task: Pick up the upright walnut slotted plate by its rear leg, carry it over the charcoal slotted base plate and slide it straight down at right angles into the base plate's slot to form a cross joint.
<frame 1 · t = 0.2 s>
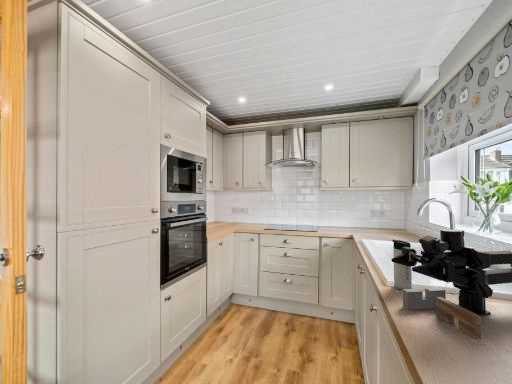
hand: (401, 264, 76), 17 cm above the countertop, tool horizontal, fingers open, 9 cm apart
cross plate: (456, 326, 69), on the countertop
base plate: (424, 306, 81), on the countertop
travel mug: (402, 288, 97), on the countertop
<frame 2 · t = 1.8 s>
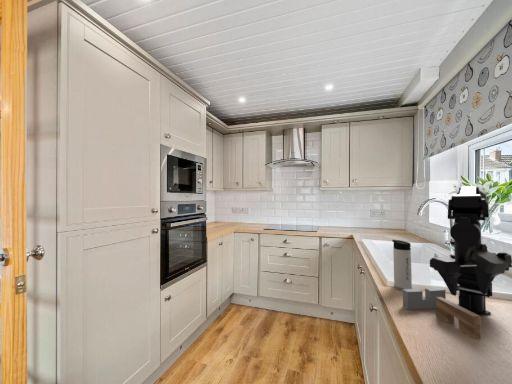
hand: (468, 294, 65), 11 cm above the countertop, tool pointing down, fingers open, 9 cm apart
nothing on the countertop moved.
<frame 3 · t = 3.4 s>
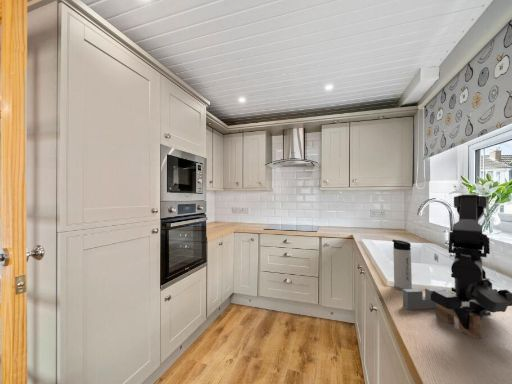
hand: (469, 328, 65), 2 cm above the countertop, tool pointing down, fingers closed on cross plate, 2 cm apart
cross plate: (456, 326, 69), on the countertop, touching gripper
everything else where it was.
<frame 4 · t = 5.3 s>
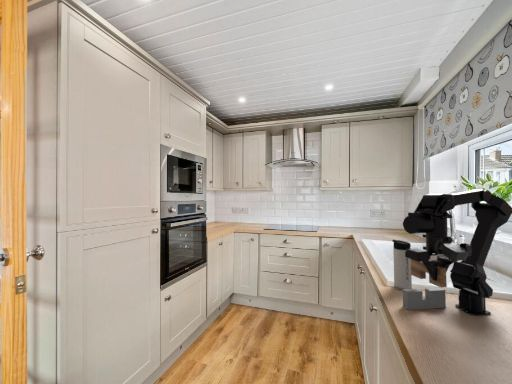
hand: (437, 280, 75), 11 cm above the countertop, tool pointing down, fingers closed on cross plate
cross plate: (427, 280, 79), point 10 cm above the countertop, touching gripper
everything else where it was.
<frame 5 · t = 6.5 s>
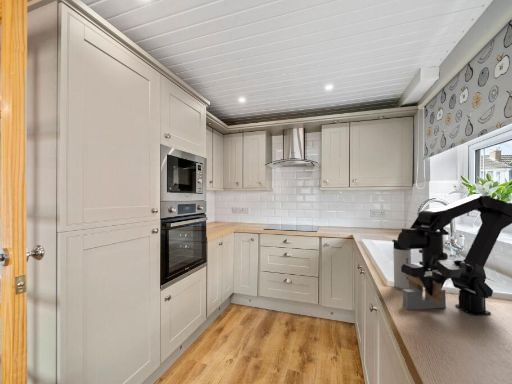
hand: (433, 295, 77), 6 cm above the countertop, tool pointing down, fingers closed on cross plate
cross plate: (424, 294, 81), point 4 cm above the countertop, touching gripper
everything else where it was.
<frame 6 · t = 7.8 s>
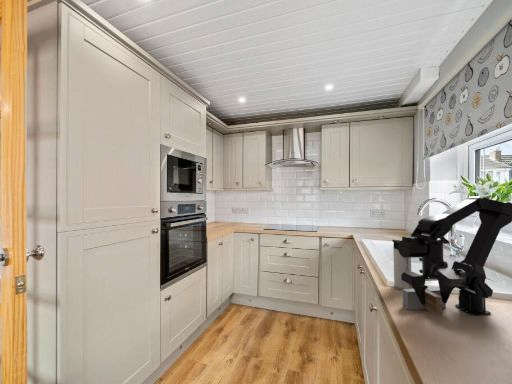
hand: (433, 303, 77), 3 cm above the countertop, tool pointing down, fingers open, 7 cm apart
cross plate: (424, 306, 81), on the countertop, touching base plate
everything else where it was.
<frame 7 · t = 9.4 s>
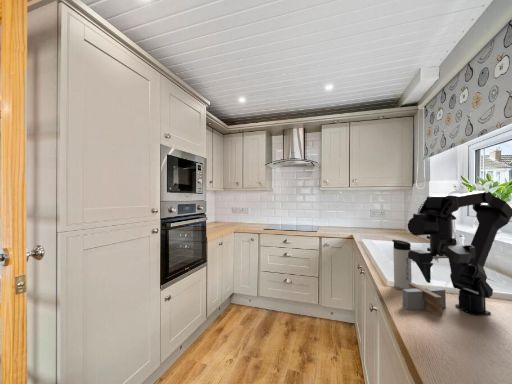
hand: (441, 281, 75), 11 cm above the countertop, tool pointing down, fingers open, 9 cm apart
nothing on the countertop moved.
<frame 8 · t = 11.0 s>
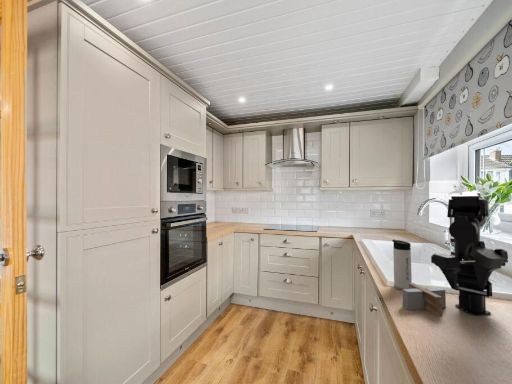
hand: (467, 288, 70), 11 cm above the countertop, tool pointing down, fingers open, 9 cm apart
nothing on the countertop moved.
at the end: cross plate 0.1 cm off-centre on the base plate, point 0.0 cm above the base plate's base; cross plate tilted 0°; the gripper is holding nothing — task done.
